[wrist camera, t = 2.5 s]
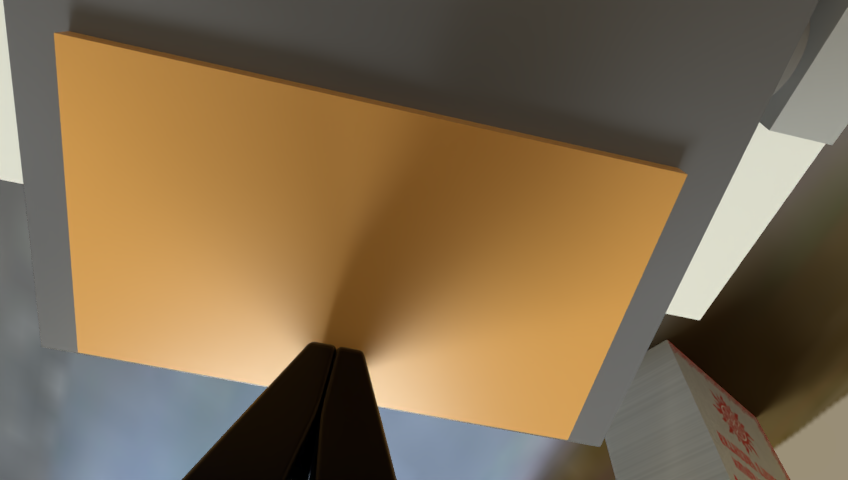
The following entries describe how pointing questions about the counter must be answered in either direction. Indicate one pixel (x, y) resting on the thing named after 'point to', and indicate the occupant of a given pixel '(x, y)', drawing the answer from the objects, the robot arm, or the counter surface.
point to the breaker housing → (750, 185)
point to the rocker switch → (387, 185)
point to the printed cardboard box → (686, 427)
